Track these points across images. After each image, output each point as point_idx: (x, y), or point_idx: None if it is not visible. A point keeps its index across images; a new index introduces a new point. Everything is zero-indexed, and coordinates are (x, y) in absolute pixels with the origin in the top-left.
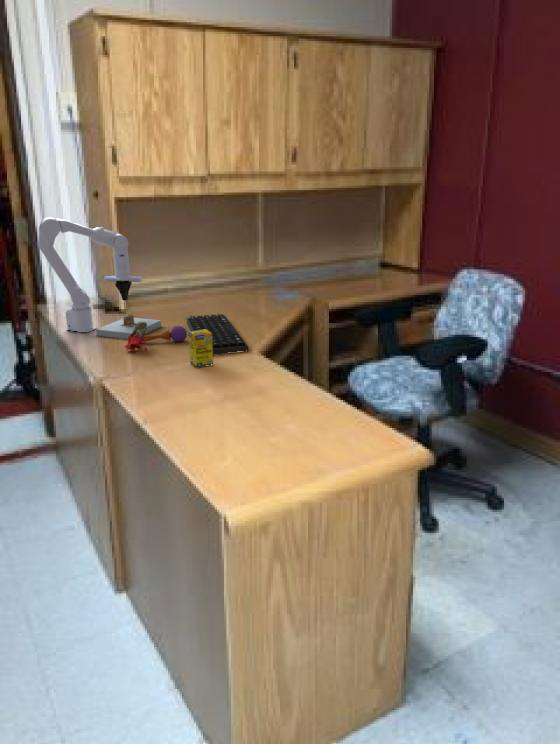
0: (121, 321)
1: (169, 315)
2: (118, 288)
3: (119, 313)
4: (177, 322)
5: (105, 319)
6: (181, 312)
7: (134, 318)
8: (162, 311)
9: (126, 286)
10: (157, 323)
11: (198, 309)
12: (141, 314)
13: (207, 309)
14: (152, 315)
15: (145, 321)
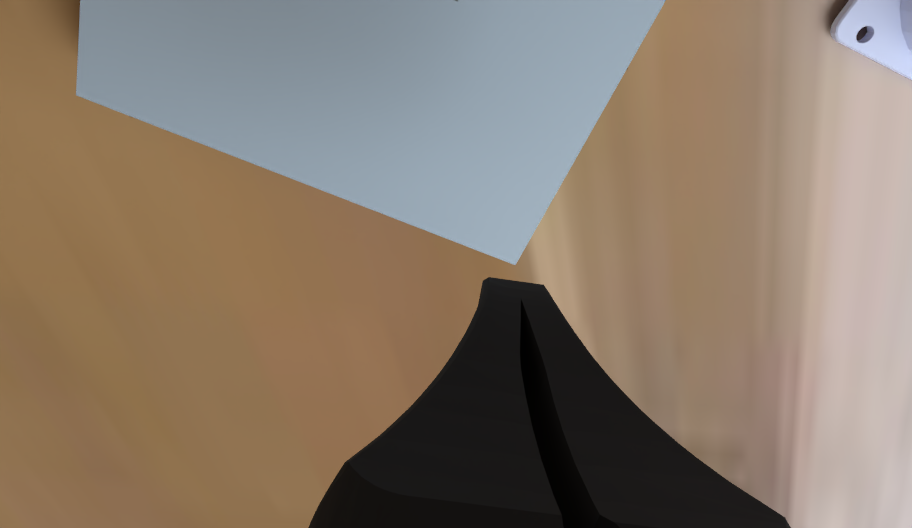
0: (550, 69)
1: (219, 419)
2: (659, 443)
3: None
4: (39, 220)
5: (735, 357)
6: (165, 477)
7: (421, 201)
8: (315, 507)
9: (381, 448)
10: (91, 13)
11: (84, 525)
12: None
13: (23, 520)
14: (354, 429)
15: (241, 50)
